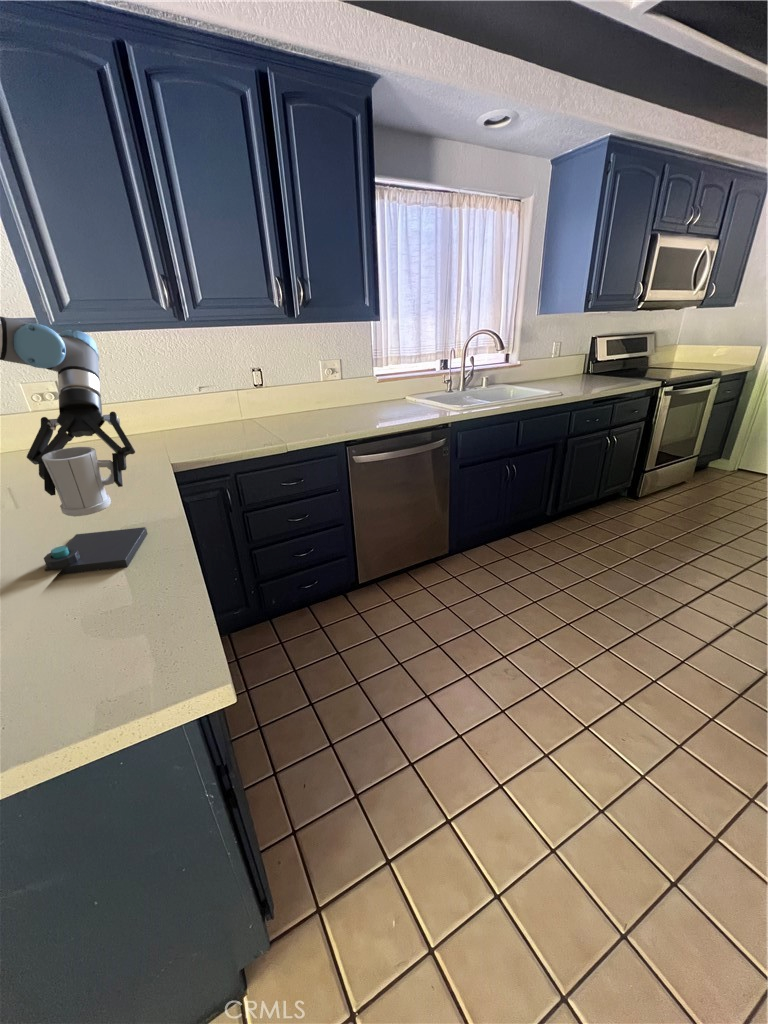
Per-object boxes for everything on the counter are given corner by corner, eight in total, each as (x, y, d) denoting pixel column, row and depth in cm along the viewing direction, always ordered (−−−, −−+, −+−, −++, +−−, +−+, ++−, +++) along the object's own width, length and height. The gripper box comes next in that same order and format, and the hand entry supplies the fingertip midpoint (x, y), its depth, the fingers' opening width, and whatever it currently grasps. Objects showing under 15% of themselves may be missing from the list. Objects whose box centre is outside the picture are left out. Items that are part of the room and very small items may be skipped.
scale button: (50, 560, 86) (47, 553, 85) (57, 553, 89) (54, 546, 88) (66, 558, 87) (63, 551, 86) (72, 551, 89) (69, 545, 88)
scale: (44, 578, 86) (38, 563, 84) (77, 541, 99) (72, 528, 98) (127, 568, 89) (122, 553, 87) (147, 534, 102) (144, 520, 101)
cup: (100, 494, 96) (83, 442, 91) (129, 500, 93) (113, 447, 88) (52, 512, 87) (30, 456, 82) (81, 520, 84) (61, 462, 79)
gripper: (145, 402, 99) (154, 487, 93) (24, 411, 92) (25, 504, 86) (136, 382, 92) (144, 472, 86) (4, 390, 85) (3, 489, 79)
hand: (85, 488), depth 86 cm, fingers closed on cup, 11 cm apart
